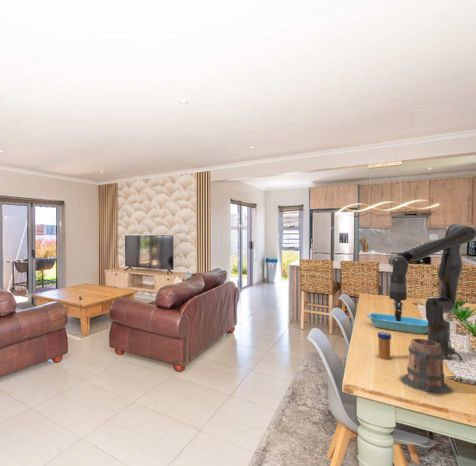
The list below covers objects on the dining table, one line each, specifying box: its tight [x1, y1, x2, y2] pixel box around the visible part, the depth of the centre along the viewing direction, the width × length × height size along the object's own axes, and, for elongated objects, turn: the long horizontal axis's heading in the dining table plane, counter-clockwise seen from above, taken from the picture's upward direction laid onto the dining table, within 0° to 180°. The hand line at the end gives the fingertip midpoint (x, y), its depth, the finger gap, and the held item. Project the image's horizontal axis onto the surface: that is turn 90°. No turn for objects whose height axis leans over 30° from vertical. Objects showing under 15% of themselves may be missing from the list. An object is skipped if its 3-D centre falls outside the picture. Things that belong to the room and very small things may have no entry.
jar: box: [377, 337, 391, 360], centre depth 185 cm, size 5×5×13 cm
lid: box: [377, 331, 392, 340], centre depth 185 cm, size 6×6×2 cm
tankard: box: [401, 338, 452, 394], centre depth 152 cm, size 24×17×20 cm
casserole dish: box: [366, 312, 428, 335], centre depth 236 cm, size 37×22×7 cm, turn 54°
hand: (397, 319), depth 187 cm, fingers open, 8 cm apart
